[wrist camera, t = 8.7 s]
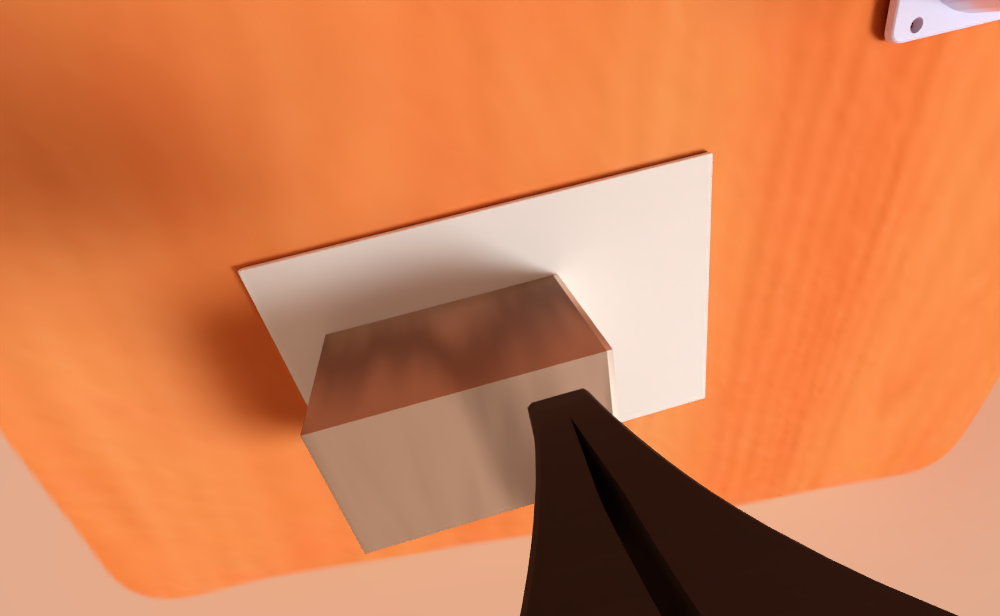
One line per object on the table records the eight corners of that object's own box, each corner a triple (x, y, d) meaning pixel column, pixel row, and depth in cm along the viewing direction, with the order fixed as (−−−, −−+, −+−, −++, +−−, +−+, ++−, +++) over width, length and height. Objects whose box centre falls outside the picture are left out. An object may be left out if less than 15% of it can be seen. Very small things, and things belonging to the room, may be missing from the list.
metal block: (612, 349, 15) (300, 435, 14) (624, 476, 18) (365, 553, 17) (557, 274, 20) (325, 334, 20) (573, 382, 23) (372, 438, 23)
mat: (708, 151, 20) (712, 153, 19) (701, 394, 26) (705, 397, 26) (240, 268, 18) (237, 271, 18) (355, 494, 24) (355, 499, 24)
